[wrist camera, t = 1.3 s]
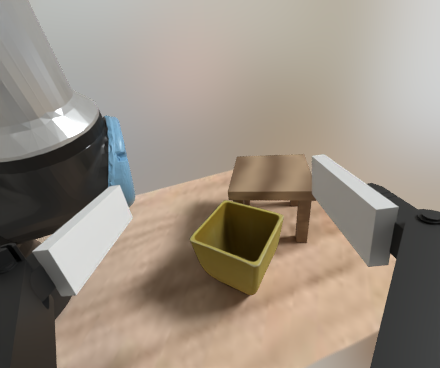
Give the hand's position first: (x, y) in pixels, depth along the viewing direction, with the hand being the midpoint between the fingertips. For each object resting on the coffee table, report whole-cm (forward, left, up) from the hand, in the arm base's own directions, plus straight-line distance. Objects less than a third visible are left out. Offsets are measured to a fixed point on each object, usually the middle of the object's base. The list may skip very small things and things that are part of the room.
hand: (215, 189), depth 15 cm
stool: (+4, +19, -19) cm, 28 cm away
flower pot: (0, +7, -19) cm, 21 cm away
